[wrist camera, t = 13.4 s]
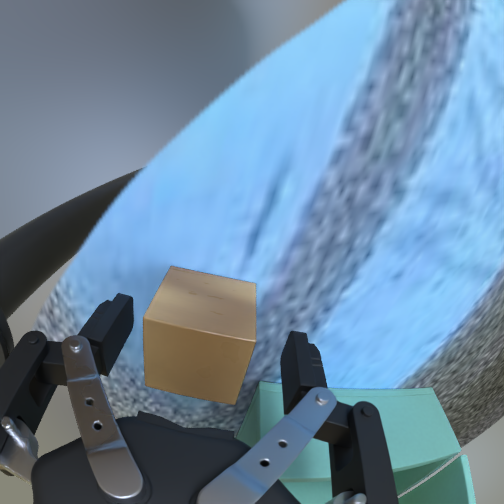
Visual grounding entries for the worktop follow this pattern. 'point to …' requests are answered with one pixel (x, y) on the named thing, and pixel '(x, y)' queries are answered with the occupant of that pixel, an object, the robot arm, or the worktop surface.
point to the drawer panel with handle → (445, 486)
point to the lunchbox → (395, 428)
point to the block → (199, 335)
